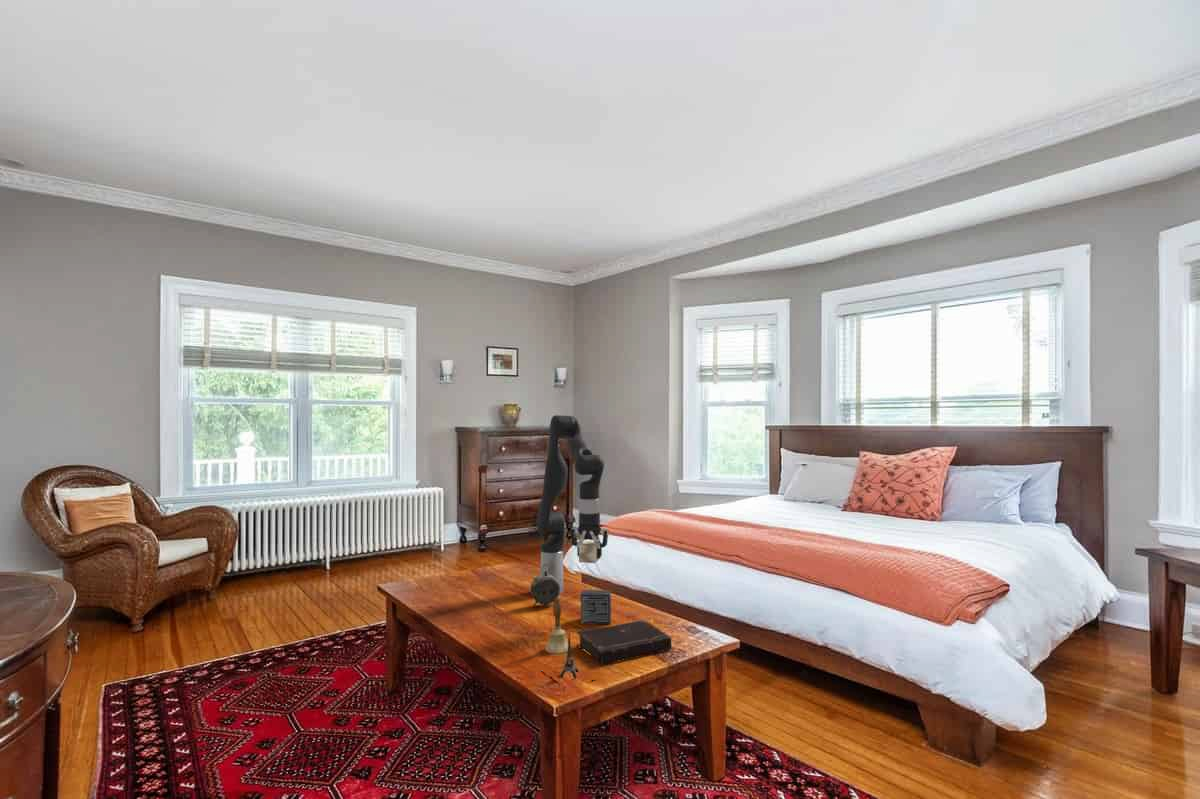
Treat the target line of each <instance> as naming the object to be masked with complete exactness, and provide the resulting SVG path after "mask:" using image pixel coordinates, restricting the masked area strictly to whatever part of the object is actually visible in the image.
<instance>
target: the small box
mask: <svg viewBox="0 0 1200 799" xmlns="http://www.w3.org/2000/svg"><path fill="white" fill-rule="evenodd" d="M611 621H612V593H611V589H582V591H581V592H580V623H581V622H583V623H602V624H601V625H610V624H611Z"/></svg>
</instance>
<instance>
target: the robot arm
mask: <svg viewBox="0 0 1200 799" xmlns="http://www.w3.org/2000/svg"><path fill="white" fill-rule="evenodd" d="M549 423H550V424H549V431H548V432H549V434H548V435H549V437H548V448H547V449H548V450H547V459H546V464H545V470H544V477H543V486H542V494H541V499H540V504H539V509H538V512H537V517H536V518H537V519H536V530H537V533H538V534H539V535H540V536H550V535H551V536H550V537H549V538H548V539H547V540H546V541H544V542H542V543H541V545H540V569H539V575H541V574H545V573H544V572H545V571H548V570H549V566H550V570H549V571H548V572H547V574H550V575H552V576H553V577H555V579H556V580H557V581H558V583H559V585H560V593H559V595H561V594H563V593H564V588H565V587H564V544H565V531H566V530H565V529H566V523H565V517H564V514H563V512H561V511H557V510H556V511H552V508H553V506H554V504H555V502H556V501H557V499H558V498H559V496H560V495H561V494H562V492H563V491H564V489H565V488H566V485H567V481H568V474H569V473H568V470H569V469H568V466H567V463H566V461H565V460H564V457H563V456H562V453H561V451H560V447H559V441H560V440H559V439H564V440H565V439H569V440H570V441H569V444H568V449H569V453H570V454H571V456H572V458H573V459H574V471H575V473H577V474H578V475H580V476H588V475H590V476H591V477H590V479H588V480H584V481H582V482H580V484H579V500H578V527H572V528H571V529H570V539H571V545H572V546H574V547H576V548H577V550H576V551H577V555H576V556H578V557H579V545H580V544H582V543H583V542H584V541H587V540H589V541H592V542H594V543H595V544H596V545H597V559H599V560H601V557H602V556H603V554H602V553H603V552H602V549H603V548H605V547H606V546H608V539H609V532H610V531H609V529H608V528H607V529H603V528H601V501H600V485H601V480H602V475H603V472H604V470H605V469H604V468H605V461H604V458H603V457H602V456H601V455H599V454H593V452H592V449H591V448H590V446H589V445H588V443H587V442H586V439H585V437H584V435H583V434H584V433H583V430H582V428H581V425H580V422H579V420H578V418H577V417H575V416H574V415H573V416H572V415H560V414H559V415H553V416H552V417H551V420H550V422H549ZM578 533H579V535H580V537H579V539H577V534H578ZM600 534H601V536H602V542H601V539H600V537H599V535H600ZM544 564H548V565H549V566H548V565H544ZM543 565H544V566H543ZM542 566H543V568H542ZM541 568H542V569H541ZM542 570H543V572H542Z"/></svg>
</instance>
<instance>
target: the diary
mask: <svg viewBox="0 0 1200 799" xmlns="http://www.w3.org/2000/svg"><path fill="white" fill-rule="evenodd" d="M575 633H576V634H577V635H578V636H579V644H576V645H577V646H578V647H579V646H580V648H579V649H580V650H581V651H582V649H585V650H586V651H587V652H589V653H590V654H591V656H592V655H593V656H594V657H593V656H592V657H593V658H595V659H596V660H597V659H598V660H599V661H598V660H597V661H598V662H599V663H600V666H604V665H603V664H605V665H608V664H607V663H609V664H612V663H611V662H613V663H615V662H614V661H617V662H619V661H618V660H622V659H626V660H628V659H627V658H631V657H635V658H637V657H636V656H640V657H642V656H641V655H644V656H647V655H646V654H648V655H651V654H650V653H652V654H655V653H654V652H657V653H659V652H658V651H662V650H666V649H671V650H672V637H671V635H668V634H667V633H665V632H664V631H662V630H660V629H659V628H658V627H657V626H655V625H653V624H652V623H649V622H648V621H646V620H636V621H632V622H626V623H621V624H617V625H616V624H615V625H612V626H610V625H609V626H602V627H599V626H598V627H593V628H588V629H583V630H578V631H577V630H576V632H575ZM577 646H576V647H577ZM578 647H577V648H578ZM666 651H667V650H666ZM662 652H663V651H662ZM631 659H632V658H631ZM600 660H601V661H600ZM622 661H623V660H622Z"/></svg>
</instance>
